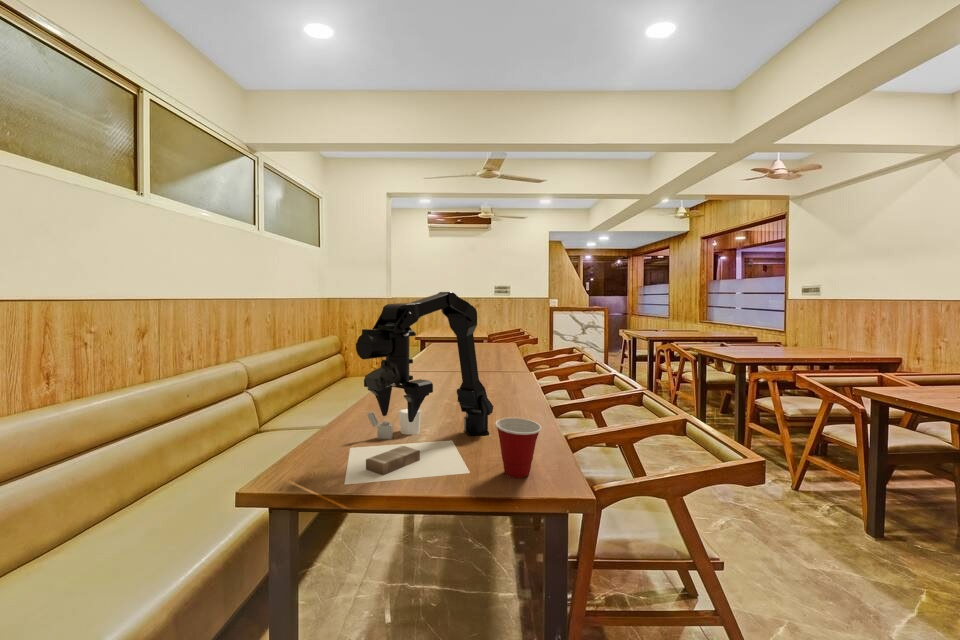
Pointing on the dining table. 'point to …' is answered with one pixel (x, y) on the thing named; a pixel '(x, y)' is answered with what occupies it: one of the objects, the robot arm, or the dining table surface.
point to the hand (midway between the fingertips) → (397, 418)
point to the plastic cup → (517, 444)
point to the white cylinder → (408, 426)
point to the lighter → (381, 427)
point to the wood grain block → (392, 460)
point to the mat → (432, 463)
